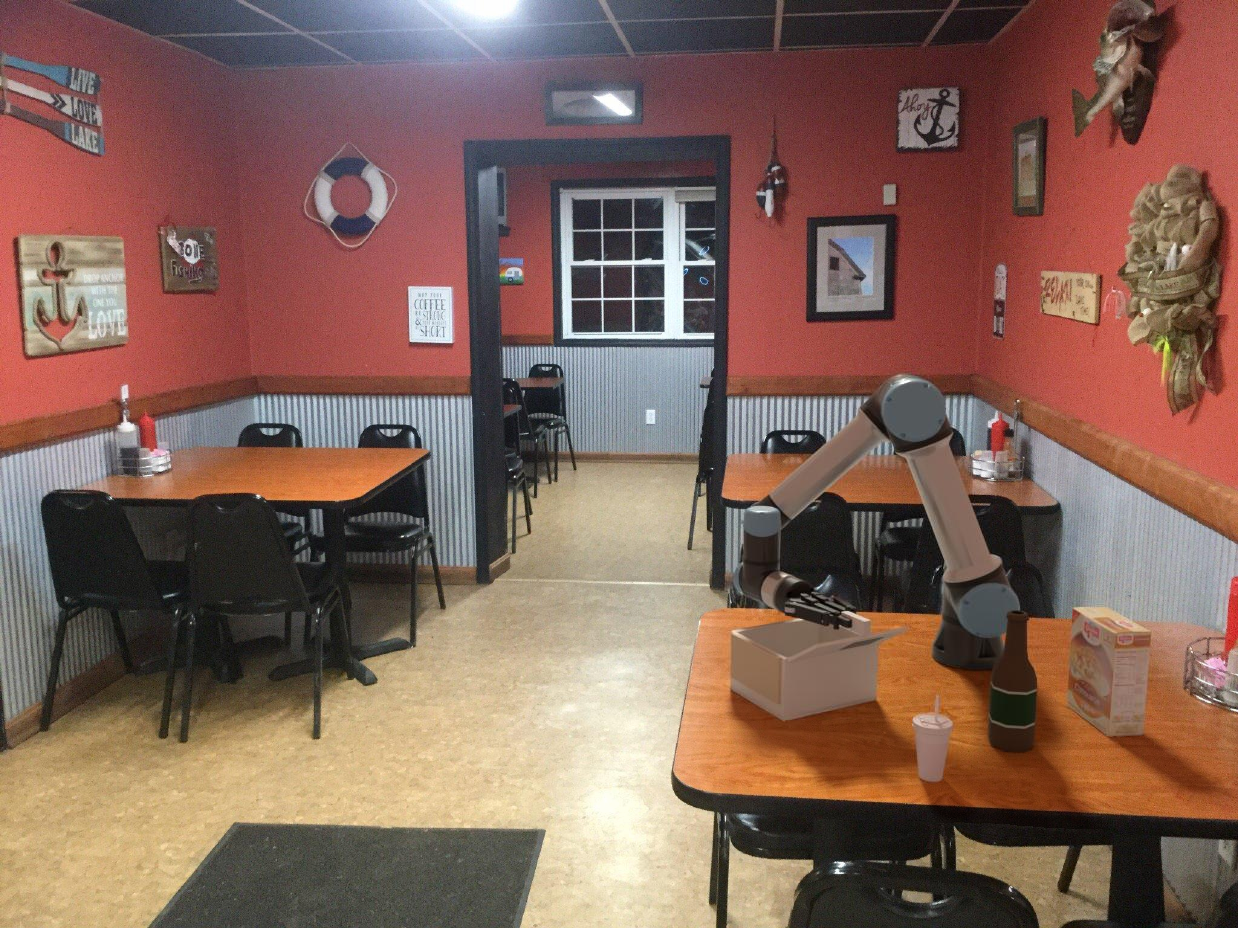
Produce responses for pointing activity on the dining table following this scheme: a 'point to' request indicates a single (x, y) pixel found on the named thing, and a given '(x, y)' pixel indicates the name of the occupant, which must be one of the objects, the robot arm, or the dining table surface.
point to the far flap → (847, 644)
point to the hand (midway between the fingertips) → (867, 628)
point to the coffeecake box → (1108, 670)
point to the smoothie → (932, 743)
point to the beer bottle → (1013, 691)
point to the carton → (800, 669)
